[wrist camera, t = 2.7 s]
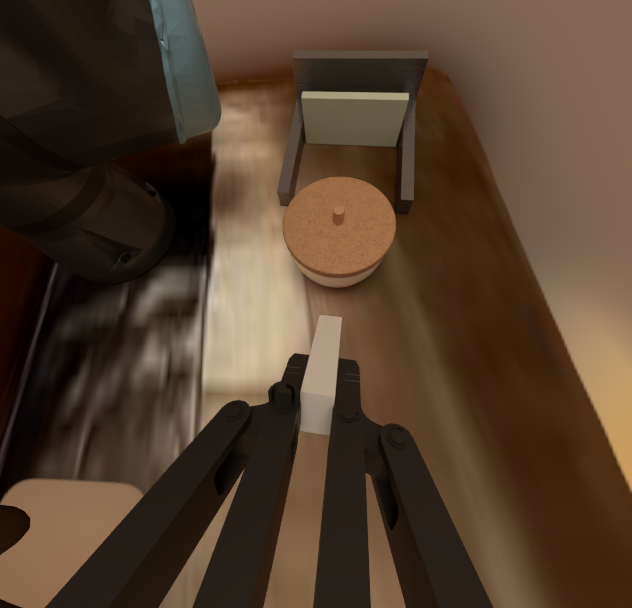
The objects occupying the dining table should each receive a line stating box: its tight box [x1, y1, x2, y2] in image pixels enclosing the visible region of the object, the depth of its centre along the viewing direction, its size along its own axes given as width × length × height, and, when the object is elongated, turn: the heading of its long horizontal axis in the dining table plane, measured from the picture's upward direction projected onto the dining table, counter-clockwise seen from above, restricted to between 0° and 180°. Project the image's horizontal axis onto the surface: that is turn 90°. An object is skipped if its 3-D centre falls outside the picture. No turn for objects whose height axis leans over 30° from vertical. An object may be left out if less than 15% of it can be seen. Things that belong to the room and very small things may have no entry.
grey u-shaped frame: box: [277, 50, 428, 214], centre depth 30 cm, size 17×18×7 cm
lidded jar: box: [283, 177, 396, 288], centre depth 24 cm, size 11×11×9 cm
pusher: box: [301, 91, 409, 147], centre depth 31 cm, size 13×1×6 cm, turn 83°
